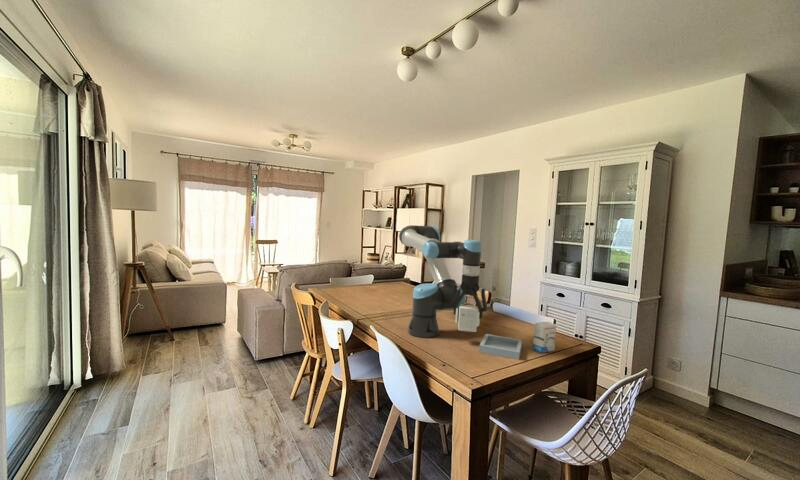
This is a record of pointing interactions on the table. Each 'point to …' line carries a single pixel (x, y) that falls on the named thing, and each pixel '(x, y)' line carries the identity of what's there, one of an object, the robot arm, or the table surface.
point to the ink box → (544, 337)
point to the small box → (467, 318)
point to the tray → (501, 346)
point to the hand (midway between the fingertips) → (467, 323)
